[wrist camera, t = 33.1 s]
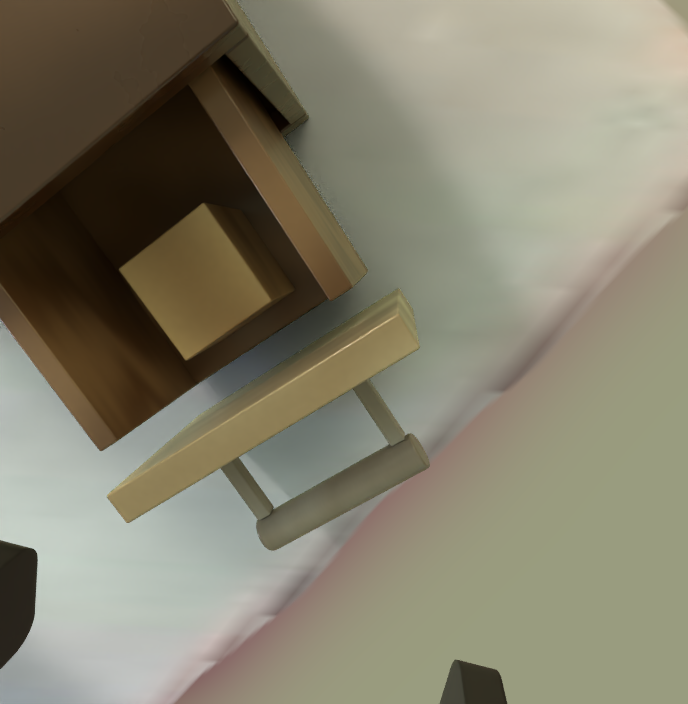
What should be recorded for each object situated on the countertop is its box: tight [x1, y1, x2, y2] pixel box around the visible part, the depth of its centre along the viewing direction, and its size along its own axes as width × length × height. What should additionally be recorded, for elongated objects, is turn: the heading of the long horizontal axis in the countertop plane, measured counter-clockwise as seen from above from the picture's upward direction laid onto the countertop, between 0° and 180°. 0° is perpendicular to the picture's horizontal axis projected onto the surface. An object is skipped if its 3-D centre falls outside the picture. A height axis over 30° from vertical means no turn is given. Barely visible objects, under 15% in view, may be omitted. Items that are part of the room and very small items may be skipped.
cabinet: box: [0, 0, 309, 239], centre depth 17 cm, size 15×13×10 cm
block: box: [119, 203, 295, 360], centre depth 19 cm, size 4×4×4 cm
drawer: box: [0, 54, 430, 551], centre depth 18 cm, size 18×11×8 cm, turn 33°
